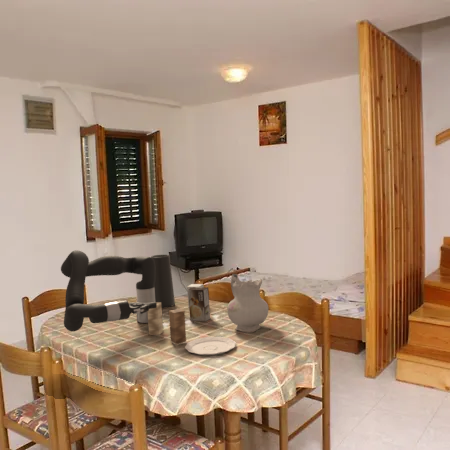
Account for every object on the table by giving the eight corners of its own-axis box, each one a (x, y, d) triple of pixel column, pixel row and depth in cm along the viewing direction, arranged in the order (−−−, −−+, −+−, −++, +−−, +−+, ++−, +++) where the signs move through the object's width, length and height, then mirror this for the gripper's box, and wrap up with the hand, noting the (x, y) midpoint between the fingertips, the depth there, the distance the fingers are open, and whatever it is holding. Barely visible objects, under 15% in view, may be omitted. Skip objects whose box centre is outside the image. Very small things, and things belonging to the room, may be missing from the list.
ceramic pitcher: (216, 330, 216) (211, 279, 212) (243, 317, 230) (238, 269, 226) (252, 339, 201) (247, 284, 197) (278, 325, 215) (273, 273, 211)
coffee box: (210, 318, 234) (209, 287, 233) (205, 321, 228) (204, 289, 227) (194, 317, 237) (193, 286, 236) (189, 320, 232) (187, 289, 230)
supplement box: (205, 305, 260) (204, 283, 259) (200, 309, 253) (199, 286, 252) (193, 305, 262) (192, 283, 261) (188, 308, 255) (186, 286, 254)
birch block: (149, 334, 211) (147, 305, 210) (153, 331, 216) (151, 302, 215) (159, 334, 210) (157, 305, 209) (163, 331, 215) (161, 302, 214)
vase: (179, 303, 267) (176, 254, 265) (161, 309, 257) (158, 258, 255) (164, 300, 276) (162, 253, 274) (146, 305, 266) (143, 256, 264)
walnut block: (175, 345, 195) (173, 312, 194) (170, 342, 199) (168, 310, 198) (186, 342, 198) (184, 310, 197) (181, 339, 202) (179, 308, 201)
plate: (195, 361, 176) (195, 357, 176) (179, 345, 195) (178, 342, 195) (244, 351, 184) (244, 347, 184) (223, 337, 203) (223, 333, 203)
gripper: (110, 317, 188) (149, 310, 198) (122, 323, 177) (163, 316, 187) (110, 299, 188) (149, 293, 197) (121, 304, 177) (162, 298, 186)
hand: (155, 304), depth 192 cm, fingers closed
